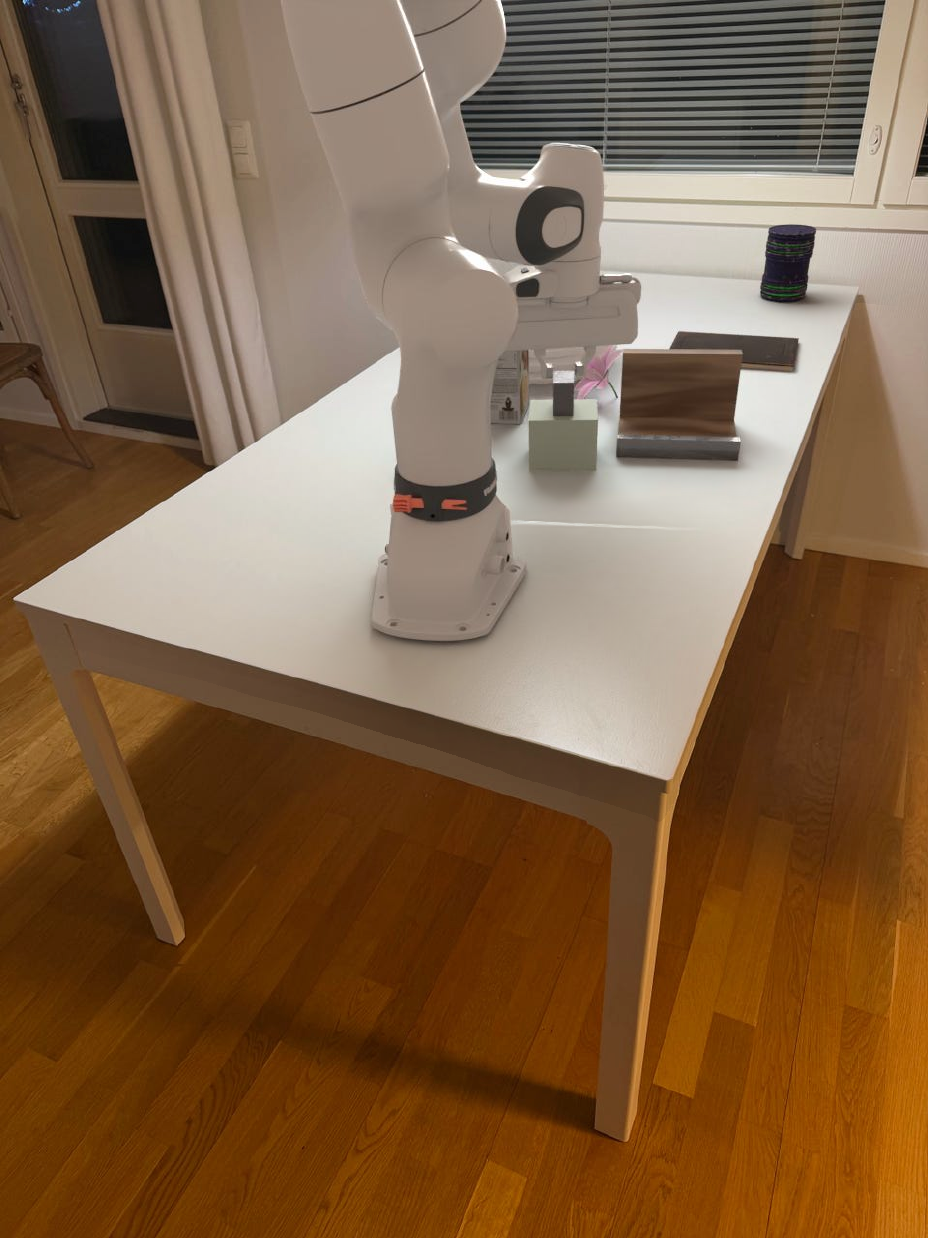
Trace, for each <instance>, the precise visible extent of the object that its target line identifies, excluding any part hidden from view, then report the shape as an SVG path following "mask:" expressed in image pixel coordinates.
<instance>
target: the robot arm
mask: <svg viewBox="0 0 928 1238" xmlns="http://www.w3.org/2000/svg"><path fill="white" fill-rule="evenodd" d="M280 6H281V10H282V16H283V22H284V26H285V27H284V28H285V31H286V35H287V40H288V44H289V49H290V51H291V52H290V53H291V55H292V56H291V57H292V60H293V64H294V69H295V71H296V75H297V79H298V82H299V84H300V87H301V92H302V94H303V97H304V99H305V102H306V105H307V109H308V111H309V114H310V117H311V119H312V122H313V125H314V128H315V130H316V133H317V136H318V138H319V142H320V144H321V147H322V150H323V152H324V156H325V158H326V161H327V164H328V166H329V169H330V172H331V175H332V178H333V180H334V183H335V186H336V188H337V191H338V194H339V197H340V200H341V204H342V208H343V211H344V216H345V220H346V223H347V230H348V234H349V240H350V244H351V248H352V252H353V256H354V260H355V264H356V267H357V271H358V279H359V285H360V287H361V291H362V294H363V297H364V298H365V299H364V300H365V301H366V303H367V305H368V307H369V309H370V311H371V312H372V313H373V315H374V317H375V318H376V319H378V321H379V322H380V323H382V325H384V326H386V327H387V328H388V329H389V330H391V332H393V333H394V335H395V336H396V340H397V342H398V345H399V351H400V369H399V379H398V386H397V387H398V388H397V392H396V394H395V396H394V397H393V399H392V401H391V406H390V409H391V417H392V420H391V421H392V428H393V429H392V430H393V438H394V445H395V446H394V448H395V457H396V465H395V467H394V478H393V492H394V495H393V497H392V498H393V500H392V503H391V504H389V509H390V515H391V517H390V526H389V535H388V537H389V538H388V543H386V544H385V546H384V554H381V555H380V556H379V557H378V565H377V569H376V570H377V571H376V578H375V579H376V580H375V585H374V586H375V587H374V596H373V602H372V610H371V620H370V621H371V627H372V628H373V629H376V630H377V631H378V632H381V633H384V634H386V635H390V636H394V637H398V638H404V639H411V640H420V641H421V640H422V641H434V642H435V641H439V642H445V641H446V642H449V641H450V642H451V641H452V642H453V641H465V640H471V639H476V638H480V637H483V636H486V635H488V634H489V633H490V632H491V631H492V629H493V628H494V626H495V624H496V622H497V621H498V619H499V618H500V616H501V614H502V613H503V612H504V610H505V608H506V607H507V605H508V603H509V601H511V598H512V597H513V595H514V594H515V592H516V590H517V588H518V587H519V586H520V584H521V582H522V580H523V579H524V577H525V576H526V573H527V572H528V571H527V569H528V568H527V564H526V562H525V561H524V560H523V559H521V558H518V557H516V556H514V553H513V537H512V523H511V513H510V512H511V511H510V509H509V508H508V507H507V506H506V505H505V504H504V503H503V502H502V500H500V498H499V497H498V495H497V490H498V489H497V488H498V486H497V482H498V472H497V469H496V468H497V466H496V461H495V459H494V458H493V457H492V454H493V453H492V423H491V414H490V405H491V394H492V387H493V381H494V376H495V372H496V367H497V363H498V359H499V357H500V356H501V355H502V354H503V353H504V352H505V351H518V350H534V354H535V356H536V358H537V360H538V361H539V363H540V365H541V377H542V379H552V378H553V374H552V373H553V366H552V364H546V363H545V362H544V360H543V358H542V356H545V355H546V349H553V348H570V347H583V349H584V350H585V354H584V356H583V358H582V359H581V362H575V376H576V377H586V376H587V365H589V363H590V361H591V360H592V358H593V357H594V355H595V354H596V346H604V345H617V346H619V345H620V346H621V345H631V344H633V343H634V341H635V340H636V339H637V338H638V334H639V318H638V317H639V316H638V304H639V303H640V301H641V298H642V297H641V296H642V284H641V282H640V280H639V279H638V278H637V277H635V276H632V275H633V274H631V273H623V274H601V260H602V248H601V247H602V246H601V243H600V231H601V227H602V224H603V219H604V209H605V208H604V207H605V205H604V204H605V202H604V201H605V199H604V197H605V181H604V180H605V179H604V167H603V160H602V156H601V154H600V152H599V151H598V150H596V149H595V148H594V147H592V146H588V145H582V144H573V143H572V144H571V143H565V142H563V143H562V142H551V143H548V144H545V145H543V146H542V148H541V151H540V156H539V159H538V161H537V163H535V164H534V166H533V167H532V168H531V169H530V170H528V172H527V173H526V174H524V175H522V176H520V177H519V179H514V178H507V177H506V178H505V177H495V176H492V175H490V174H489V173H486V172H485V171H484V170H482V169H480V167H478V166H477V164H476V163H475V161H474V158H473V154H472V150H471V147H470V143H469V138H468V134H467V132H466V127H465V124H464V120H463V116H462V112H461V103H463V102H464V101H466V100H467V99H469V98H470V97H471V96H473V95H475V94H476V92H478V90H480V89H481V88H482V87H483V86H484V85H485V84H486V83H487V82H488V81H489V80H490V78H491V77H492V76H493V75H494V73H495V72H496V70H497V68H498V67H499V64H500V63H501V60H502V57H503V56H504V55H503V54H504V51H505V47H506V42H507V27H506V20H505V19H506V18H505V15H504V14H505V13H504V10H503V5H502V2H501V0H280ZM490 260H491V261H497V262H503V263H509V264H515V265H516V264H517V265H521V266H518V267H516V268H512V269H511V270H508V271H506V272H504V273H503V274H502V273H501V272H500V270H499V269H497V268H496V266H495V265H494V264H493V263H492V262H491V261H490Z"/></svg>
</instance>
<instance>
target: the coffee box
mask: <svg viewBox="0 0 928 1238" xmlns="http://www.w3.org/2000/svg"><path fill="white" fill-rule="evenodd" d="M528 407H530V384H529V354H528V350H518V351H505V352H504V353H503V354H502V355H501V356H500V357H499V359H498V363H497V367H496V372H495V376H494V381H493V387H492V394H491V405H490V414H491V424H499V425H501V424H502V425H503V424H505V425H506V424H507V425H521V424H522V422H523V421H524V417H525V415H526V413H527V411H528Z"/></svg>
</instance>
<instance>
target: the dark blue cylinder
mask: <svg viewBox="0 0 928 1238" xmlns="http://www.w3.org/2000/svg"><path fill="white" fill-rule="evenodd" d="M767 233H768V236H767V241H766V243H765V244H766V245H765V252H764V257H765V260H764V261H765V263H764V269H763V274H762V275H761V282H760V287H759V291H760V292H759V295H760V298H761V299H763V300H764V301H768V302H771V303H772V302H773V303H780V304H781V303H786V304H787V303H795V302H800V301H803V300H804V298H805V296H806V294H807V290H808V286H809V285H808V282H809V269H810V263H811V258H812V257H813V252H814V249H815V240H816V233H817V228H816V227H814V226H811V225H806V224H798V223H797V224H790V223H789V224H778V225H773V226H770V227H769V228H768V232H767Z"/></svg>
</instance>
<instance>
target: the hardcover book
mask: <svg viewBox="0 0 928 1238" xmlns="http://www.w3.org/2000/svg"><path fill="white" fill-rule="evenodd" d="M799 340H800V339H799V338H798V337H787V336H786V337H785V336H784V337H783V336H782V337H781V336H767V335H750V334H734V333H733V334H732V333H720V332H719V333H715V332H702V331H701V332H698V331H684V330H682V331H681V330H678V331H677V333H676V335H675V337H674V339H673V341H672V342H671V345H670V346H669V348H668V349H702V350H742V353H743V356H742V363H741V368H743V369H757V370H758V369H760V370H771V371H772V370H774V371H788V372H793V370H794V367H795V363H796V357H797V351H798V345H799Z"/></svg>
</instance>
